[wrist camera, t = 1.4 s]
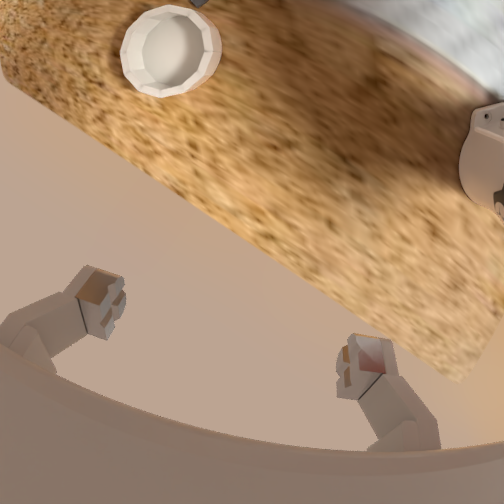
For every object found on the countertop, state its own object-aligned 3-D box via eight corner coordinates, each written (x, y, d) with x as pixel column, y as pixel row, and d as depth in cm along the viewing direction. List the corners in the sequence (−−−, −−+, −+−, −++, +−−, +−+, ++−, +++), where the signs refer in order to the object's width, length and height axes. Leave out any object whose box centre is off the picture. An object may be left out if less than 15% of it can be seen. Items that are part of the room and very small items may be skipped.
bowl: (185, -6, 29) (170, -12, 25) (241, 53, 34) (233, 52, 30) (124, 52, 35) (105, 54, 31) (174, 108, 39) (159, 115, 35)
